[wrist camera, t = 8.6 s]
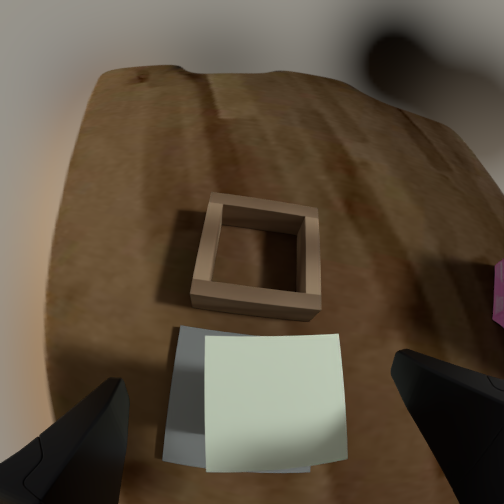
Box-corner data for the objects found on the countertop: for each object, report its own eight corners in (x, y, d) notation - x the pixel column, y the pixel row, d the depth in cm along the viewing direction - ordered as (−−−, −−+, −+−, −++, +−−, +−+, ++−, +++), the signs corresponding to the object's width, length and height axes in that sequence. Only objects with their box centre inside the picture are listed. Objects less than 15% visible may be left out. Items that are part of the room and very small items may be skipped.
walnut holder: (309, 321, 20) (321, 309, 17) (192, 307, 19) (189, 293, 17) (308, 227, 24) (317, 208, 21) (211, 212, 23) (211, 191, 21)
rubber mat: (307, 470, 14) (309, 472, 14) (163, 459, 14) (162, 460, 13) (315, 342, 19) (317, 341, 18) (181, 327, 18) (180, 325, 18)
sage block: (277, 433, 15) (347, 458, 6) (210, 435, 14) (206, 472, 6) (274, 372, 17) (338, 333, 8) (210, 373, 17) (205, 335, 8)
